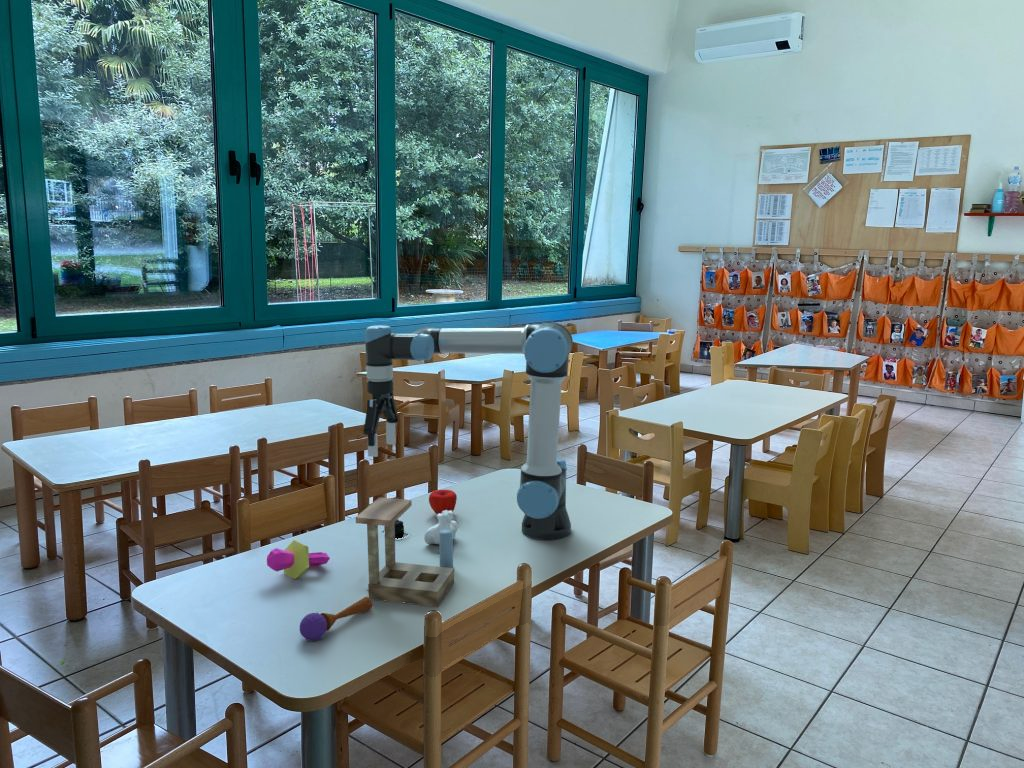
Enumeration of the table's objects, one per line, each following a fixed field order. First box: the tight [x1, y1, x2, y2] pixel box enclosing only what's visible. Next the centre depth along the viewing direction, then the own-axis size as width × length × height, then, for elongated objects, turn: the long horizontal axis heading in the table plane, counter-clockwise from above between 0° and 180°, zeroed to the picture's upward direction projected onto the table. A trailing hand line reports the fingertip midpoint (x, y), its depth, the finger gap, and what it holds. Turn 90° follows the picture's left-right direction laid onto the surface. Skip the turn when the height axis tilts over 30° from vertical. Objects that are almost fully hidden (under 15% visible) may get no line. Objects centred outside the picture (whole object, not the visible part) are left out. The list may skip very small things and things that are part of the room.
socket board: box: [367, 561, 455, 608], centre depth 200 cm, size 18×14×4 cm
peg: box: [438, 530, 454, 568], centre depth 214 cm, size 4×4×10 cm
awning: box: [355, 496, 413, 584], centre depth 200 cm, size 9×15×18 cm, turn 167°
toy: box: [266, 539, 331, 580], centre depth 209 cm, size 10×18×10 cm, turn 136°
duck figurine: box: [423, 510, 459, 545], centre depth 231 cm, size 12×8×11 cm
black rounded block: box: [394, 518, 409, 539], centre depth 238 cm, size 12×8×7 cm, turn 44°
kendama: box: [299, 596, 373, 641], centre depth 183 cm, size 6×6×20 cm
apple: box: [428, 489, 458, 515], centre depth 254 cm, size 9×9×8 cm
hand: (382, 450), depth 232 cm, fingers open, 13 cm apart
